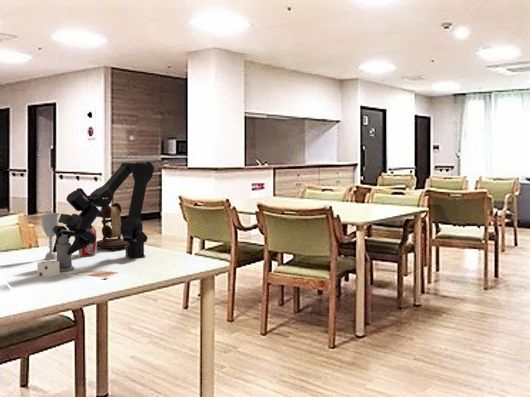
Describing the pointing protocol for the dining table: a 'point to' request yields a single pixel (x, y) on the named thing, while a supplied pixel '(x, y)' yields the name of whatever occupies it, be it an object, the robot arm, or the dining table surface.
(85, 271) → the game track
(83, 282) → the dining table surface
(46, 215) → the chalice
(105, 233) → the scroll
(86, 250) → the soda can
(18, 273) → the dining table surface
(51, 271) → the die
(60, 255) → the pawn
